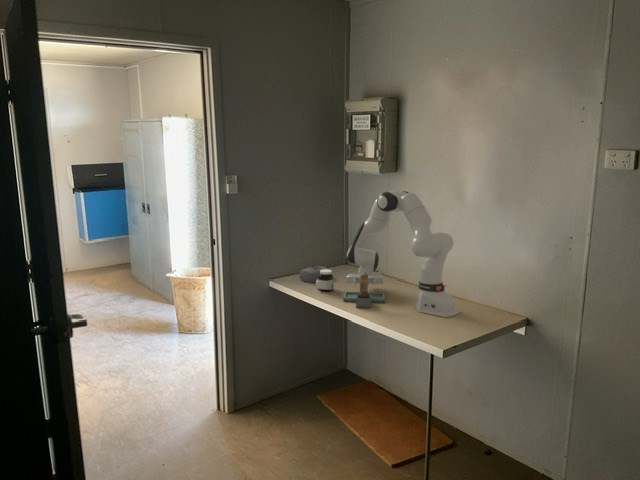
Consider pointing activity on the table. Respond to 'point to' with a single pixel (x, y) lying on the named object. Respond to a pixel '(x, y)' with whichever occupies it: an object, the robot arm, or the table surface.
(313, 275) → the soft grey pack
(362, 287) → the dowel
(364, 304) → the grey square sleeve
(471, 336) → the table surface
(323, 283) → the spread jar
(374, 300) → the tray
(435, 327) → the table surface
